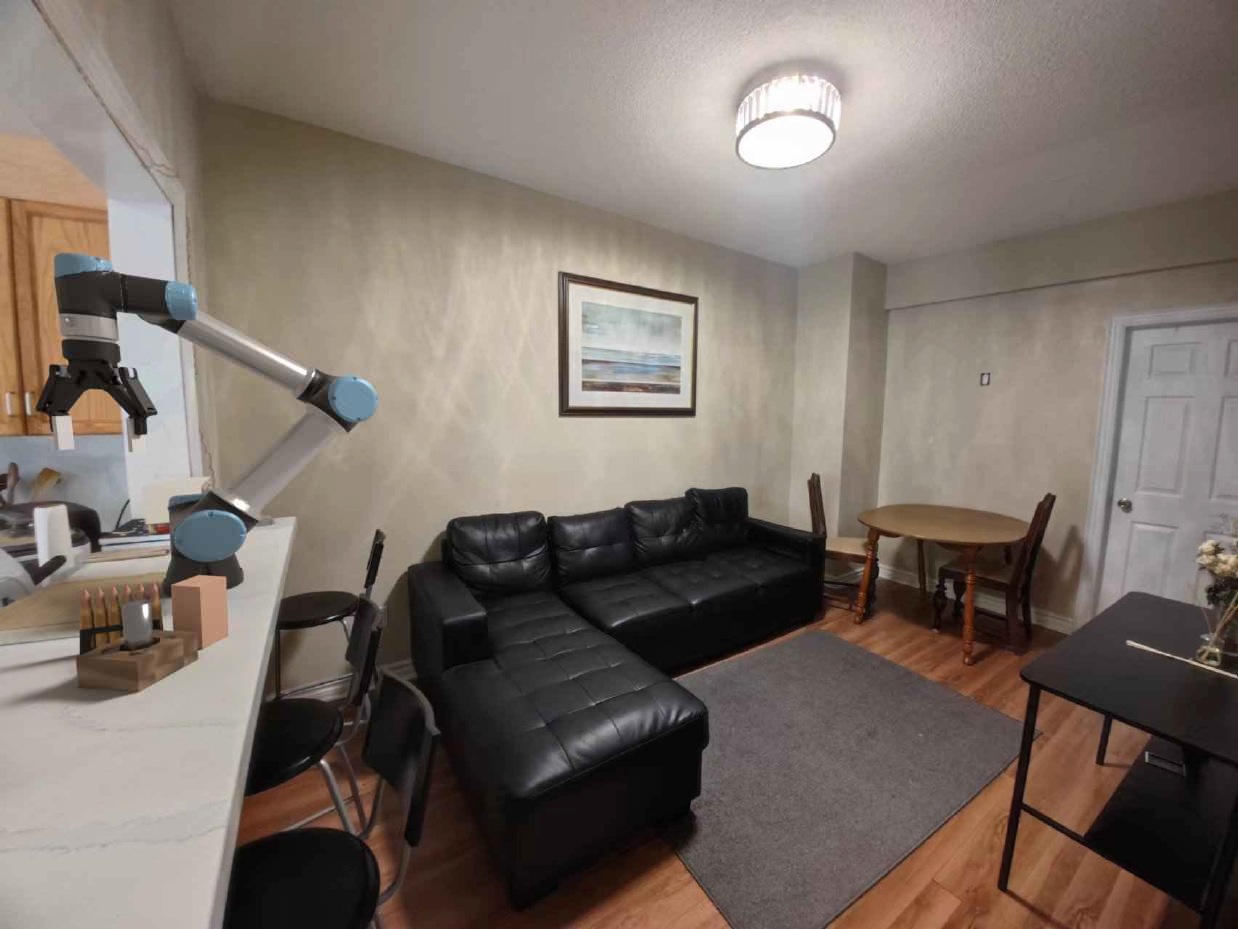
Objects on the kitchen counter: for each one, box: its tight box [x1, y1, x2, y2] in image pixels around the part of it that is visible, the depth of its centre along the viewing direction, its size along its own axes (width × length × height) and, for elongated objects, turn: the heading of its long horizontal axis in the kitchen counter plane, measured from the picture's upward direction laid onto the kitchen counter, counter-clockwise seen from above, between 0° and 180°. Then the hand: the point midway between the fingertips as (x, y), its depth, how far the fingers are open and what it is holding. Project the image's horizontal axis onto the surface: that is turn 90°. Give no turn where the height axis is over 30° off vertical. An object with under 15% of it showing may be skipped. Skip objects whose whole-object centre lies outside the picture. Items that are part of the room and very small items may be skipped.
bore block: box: [75, 629, 199, 693], centre depth 79 cm, size 10×10×5 cm
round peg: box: [121, 599, 154, 652], centre depth 78 cm, size 3×3×12 cm
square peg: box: [170, 575, 229, 650], centre depth 89 cm, size 6×6×12 cm
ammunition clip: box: [79, 581, 165, 656], centre depth 85 cm, size 11×2×12 cm, turn 121°
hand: (101, 450), depth 93 cm, fingers open, 13 cm apart
